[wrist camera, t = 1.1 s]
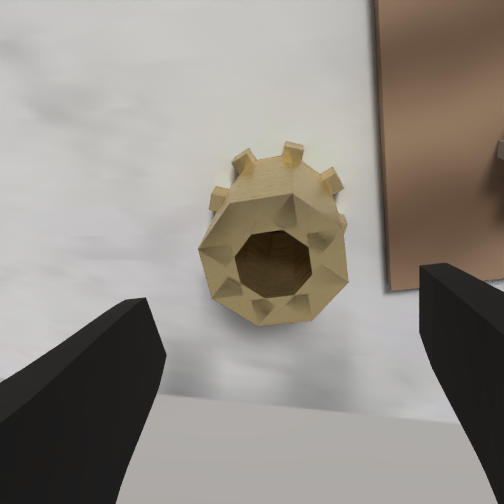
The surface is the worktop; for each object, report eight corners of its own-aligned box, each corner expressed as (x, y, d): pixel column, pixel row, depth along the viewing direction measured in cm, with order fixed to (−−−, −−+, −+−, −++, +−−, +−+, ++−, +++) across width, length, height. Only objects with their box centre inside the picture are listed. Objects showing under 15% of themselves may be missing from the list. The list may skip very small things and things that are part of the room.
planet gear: (348, 255, 20) (369, 328, 14) (230, 270, 21) (209, 343, 15) (336, 132, 17) (357, 163, 12) (202, 156, 18) (164, 195, 13)
